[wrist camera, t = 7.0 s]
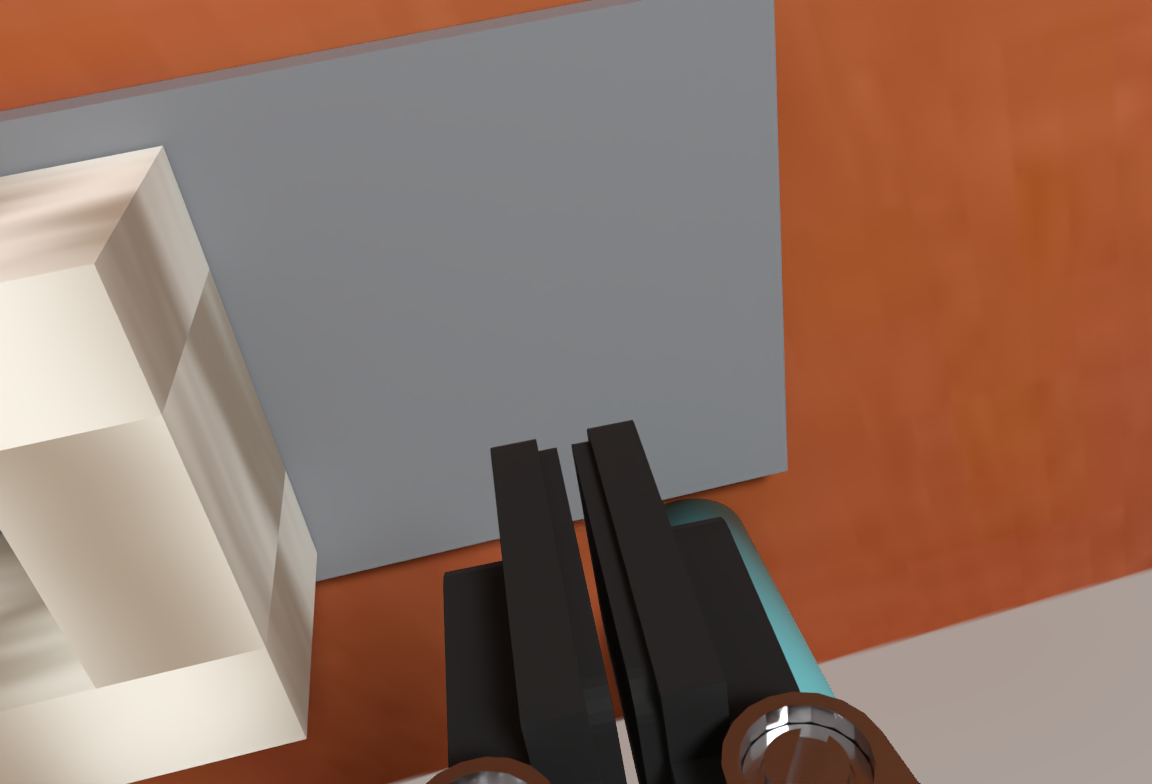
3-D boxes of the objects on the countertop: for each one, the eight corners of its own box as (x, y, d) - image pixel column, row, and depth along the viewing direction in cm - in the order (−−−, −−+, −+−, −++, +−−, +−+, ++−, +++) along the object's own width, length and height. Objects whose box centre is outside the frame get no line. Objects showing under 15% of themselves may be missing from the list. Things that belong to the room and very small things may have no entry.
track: (756, -31, 21) (980, 60, 13) (774, 450, 28) (928, 690, 20) (-698, 243, 18) (-1431, 544, 11) (-281, 696, 25) (-552, 1073, 18)
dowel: (742, 485, 28) (953, 859, 18) (748, 584, 31) (940, 968, 20) (610, 516, 28) (751, 915, 18) (626, 614, 30) (759, 1020, 20)
